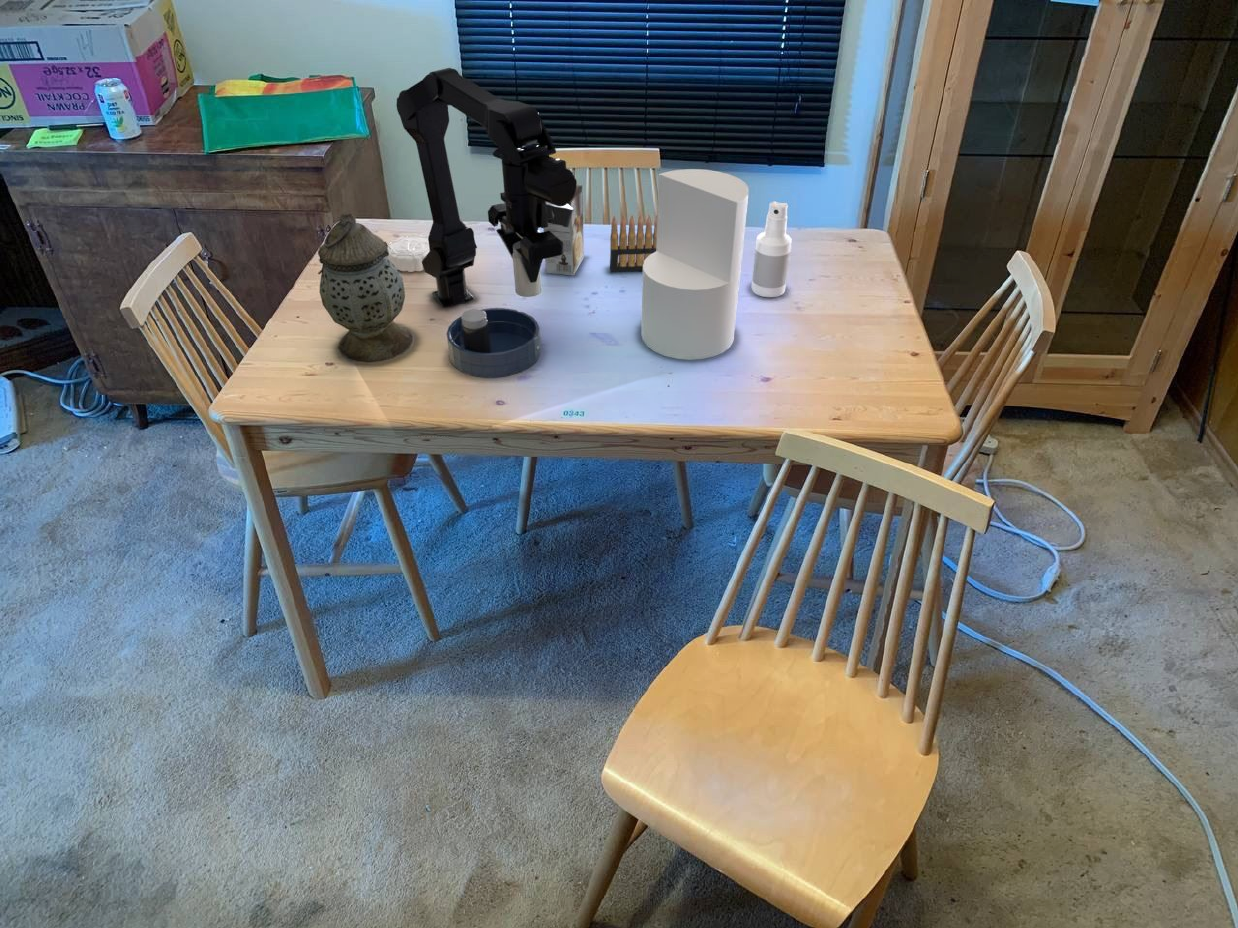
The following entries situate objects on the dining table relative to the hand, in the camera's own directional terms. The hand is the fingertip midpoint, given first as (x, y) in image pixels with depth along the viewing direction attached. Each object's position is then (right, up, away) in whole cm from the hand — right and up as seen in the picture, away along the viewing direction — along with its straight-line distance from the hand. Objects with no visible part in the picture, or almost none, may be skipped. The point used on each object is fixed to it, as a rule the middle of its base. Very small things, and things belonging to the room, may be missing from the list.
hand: (527, 276), depth 148 cm
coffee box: (+5, +9, +32) cm, 34 cm away
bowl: (-6, -13, +4) cm, 15 cm away
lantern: (-29, -11, +7) cm, 32 cm away
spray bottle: (+46, +2, +24) cm, 52 cm away
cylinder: (+29, -9, +10) cm, 32 cm away
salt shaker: (0, -2, +2) cm, 3 cm away
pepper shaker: (-9, -14, +3) cm, 17 cm away
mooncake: (-28, +11, +34) cm, 45 cm away
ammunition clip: (+19, +8, +31) cm, 37 cm away
